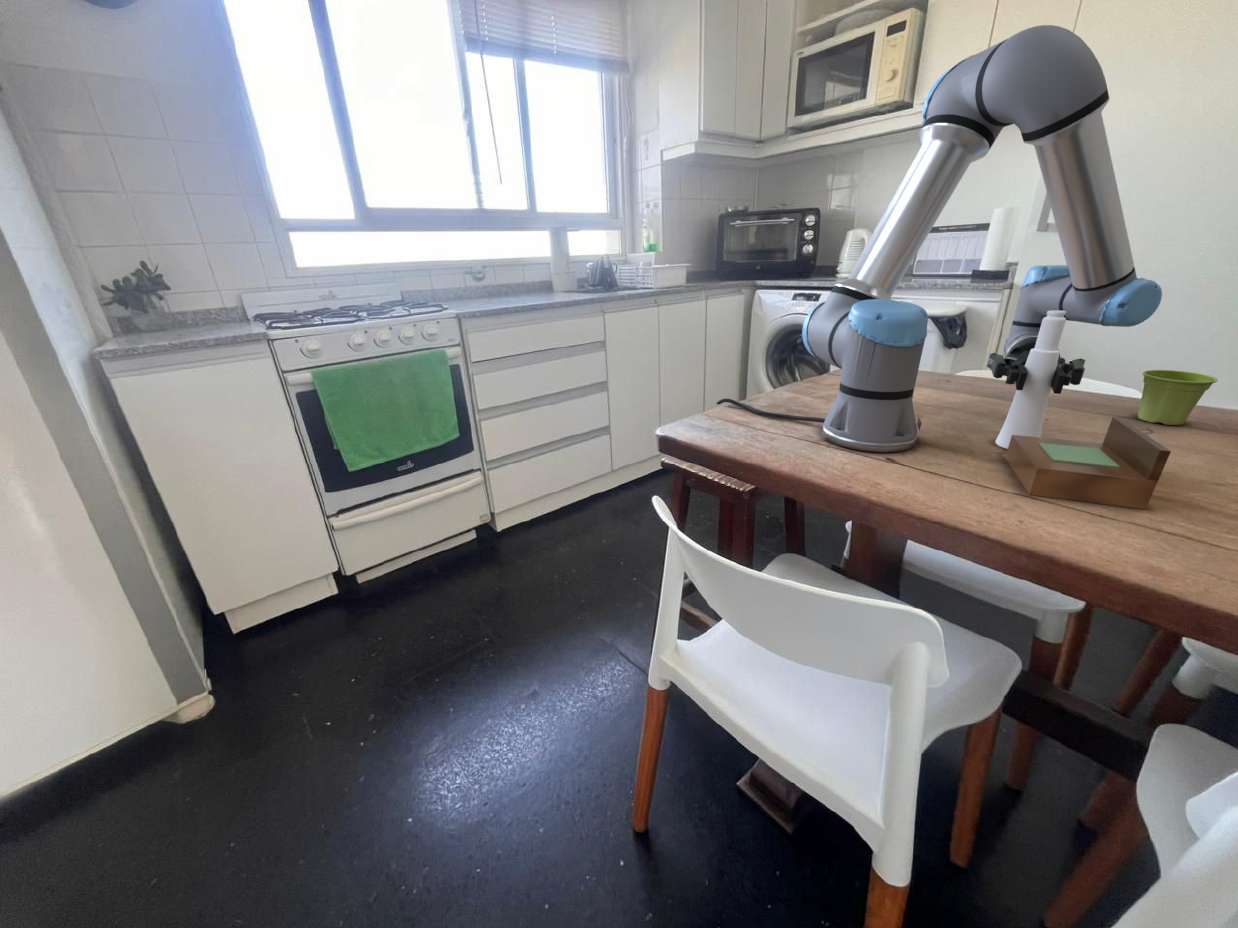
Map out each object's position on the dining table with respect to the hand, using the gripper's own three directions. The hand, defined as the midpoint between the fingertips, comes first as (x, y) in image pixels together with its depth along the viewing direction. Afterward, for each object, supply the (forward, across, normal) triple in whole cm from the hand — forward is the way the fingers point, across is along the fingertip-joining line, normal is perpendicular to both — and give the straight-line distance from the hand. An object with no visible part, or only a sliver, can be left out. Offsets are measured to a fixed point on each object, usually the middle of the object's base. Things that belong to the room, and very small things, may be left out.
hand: (1040, 383), depth 75 cm
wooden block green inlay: (+8, -5, -12) cm, 15 cm away
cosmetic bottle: (-5, 0, -12) cm, 13 cm away
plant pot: (-34, -22, -12) cm, 42 cm away
